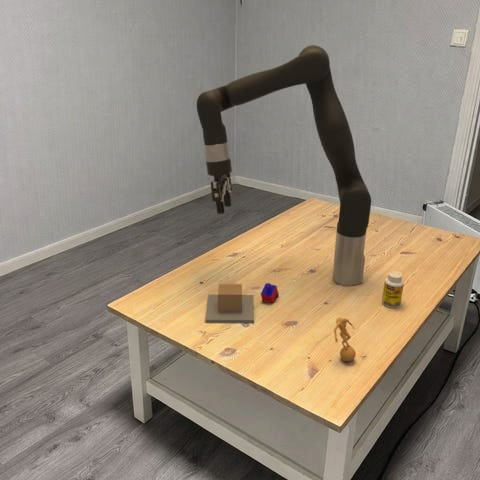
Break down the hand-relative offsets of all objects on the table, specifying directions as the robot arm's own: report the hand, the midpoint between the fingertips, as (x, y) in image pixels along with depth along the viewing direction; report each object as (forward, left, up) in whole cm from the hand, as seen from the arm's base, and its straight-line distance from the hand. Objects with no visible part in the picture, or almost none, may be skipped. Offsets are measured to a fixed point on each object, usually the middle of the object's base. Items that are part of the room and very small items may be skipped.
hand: (224, 209), depth 166 cm
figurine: (-32, +43, -25) cm, 59 cm away
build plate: (-2, +20, -24) cm, 31 cm away
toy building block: (-14, +14, -25) cm, 31 cm away
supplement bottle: (-51, +16, -25) cm, 59 cm away
